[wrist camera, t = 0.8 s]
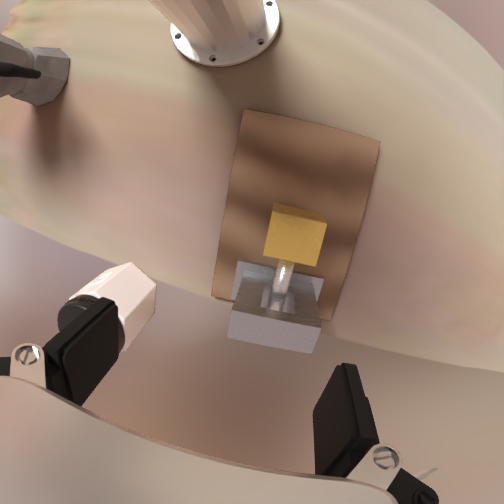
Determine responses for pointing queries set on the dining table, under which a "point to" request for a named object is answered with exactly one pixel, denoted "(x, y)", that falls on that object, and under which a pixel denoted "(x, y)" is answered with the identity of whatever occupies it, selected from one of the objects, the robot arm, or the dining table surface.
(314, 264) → the yellow block headed rod
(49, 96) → the coffeepot
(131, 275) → the jar
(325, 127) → the copper board
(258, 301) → the brushed steel socket base
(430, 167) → the dining table surface
